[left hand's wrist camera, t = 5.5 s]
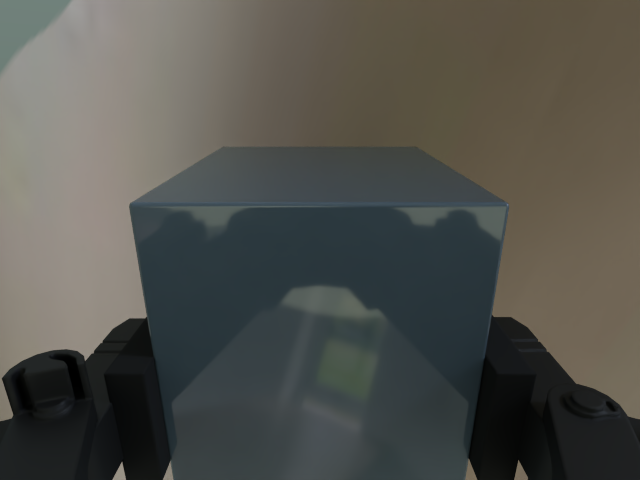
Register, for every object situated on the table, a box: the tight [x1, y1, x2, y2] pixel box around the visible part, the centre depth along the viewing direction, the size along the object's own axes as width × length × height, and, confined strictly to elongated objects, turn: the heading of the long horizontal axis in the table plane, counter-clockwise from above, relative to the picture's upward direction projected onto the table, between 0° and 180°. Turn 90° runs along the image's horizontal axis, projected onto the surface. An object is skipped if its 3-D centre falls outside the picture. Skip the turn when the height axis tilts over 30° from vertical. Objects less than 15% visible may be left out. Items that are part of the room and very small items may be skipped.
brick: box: [129, 147, 509, 480], centre depth 12 cm, size 7×9×7 cm
